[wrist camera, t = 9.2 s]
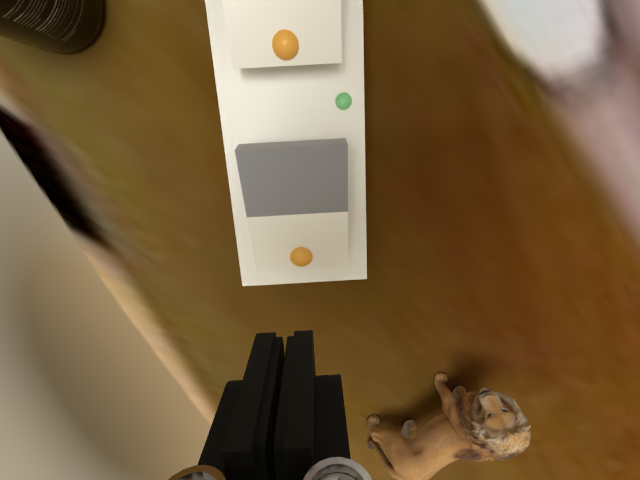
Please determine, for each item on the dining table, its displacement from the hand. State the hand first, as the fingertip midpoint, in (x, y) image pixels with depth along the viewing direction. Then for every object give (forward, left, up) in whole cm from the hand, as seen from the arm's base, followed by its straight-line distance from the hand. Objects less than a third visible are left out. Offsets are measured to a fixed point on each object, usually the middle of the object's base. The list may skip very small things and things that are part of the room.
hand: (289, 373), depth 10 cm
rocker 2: (0, -3, -12) cm, 13 cm away
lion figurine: (-11, +18, -19) cm, 28 cm away
